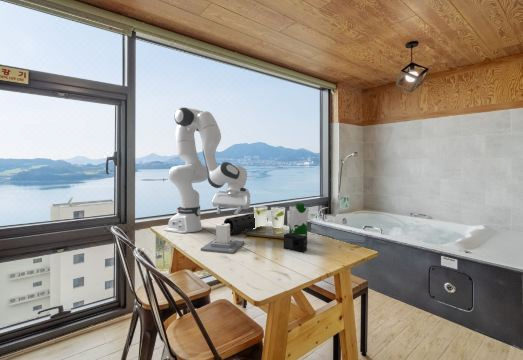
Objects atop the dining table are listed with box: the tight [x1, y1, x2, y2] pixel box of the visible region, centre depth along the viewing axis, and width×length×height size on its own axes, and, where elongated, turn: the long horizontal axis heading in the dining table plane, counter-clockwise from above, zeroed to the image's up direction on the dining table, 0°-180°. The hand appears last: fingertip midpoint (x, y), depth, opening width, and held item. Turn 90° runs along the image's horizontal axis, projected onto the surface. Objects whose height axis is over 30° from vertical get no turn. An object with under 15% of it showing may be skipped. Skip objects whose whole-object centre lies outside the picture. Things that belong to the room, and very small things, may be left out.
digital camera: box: [283, 232, 308, 254], centre depth 130 cm, size 10×5×7 cm, turn 54°
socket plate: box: [200, 238, 245, 255], centre depth 134 cm, size 16×16×2 cm
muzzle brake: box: [223, 212, 269, 236], centre depth 164 cm, size 10×28×10 cm, turn 136°
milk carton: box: [288, 202, 309, 237], centre depth 143 cm, size 9×9×20 cm
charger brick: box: [215, 222, 231, 244], centre depth 134 cm, size 6×4×10 cm
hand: (226, 213), depth 139 cm, fingers open, 8 cm apart
